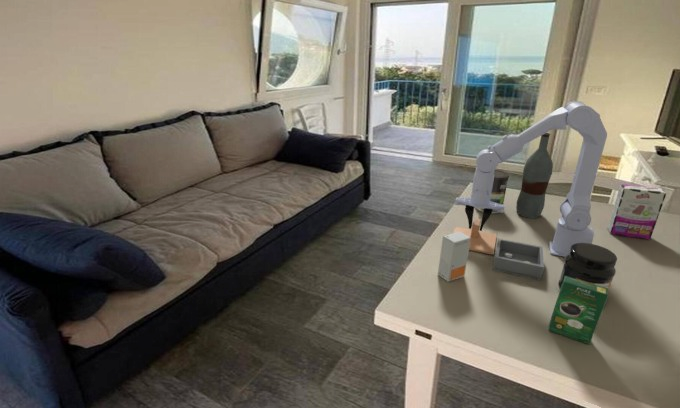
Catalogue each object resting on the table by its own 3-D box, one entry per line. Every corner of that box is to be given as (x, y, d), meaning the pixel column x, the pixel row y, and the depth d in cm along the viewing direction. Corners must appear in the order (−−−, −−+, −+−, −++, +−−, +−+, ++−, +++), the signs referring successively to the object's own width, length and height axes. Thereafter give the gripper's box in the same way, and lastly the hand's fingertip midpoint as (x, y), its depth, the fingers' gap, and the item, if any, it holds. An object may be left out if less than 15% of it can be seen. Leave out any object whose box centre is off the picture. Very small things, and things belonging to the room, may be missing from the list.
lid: (495, 238, 122) (499, 221, 120) (492, 257, 111) (496, 239, 109) (455, 230, 127) (457, 214, 125) (448, 247, 116) (450, 230, 114)
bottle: (511, 207, 144) (527, 130, 132) (536, 209, 143) (554, 131, 131) (518, 218, 135) (536, 135, 124) (545, 219, 134) (565, 137, 122)
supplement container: (606, 312, 88) (621, 268, 83) (555, 297, 93) (567, 255, 88) (605, 289, 96) (618, 248, 91) (558, 276, 101) (569, 237, 96)
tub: (539, 258, 109) (542, 246, 108) (540, 280, 99) (544, 267, 98) (495, 249, 114) (498, 238, 113) (492, 269, 104) (495, 257, 102)
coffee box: (591, 337, 80) (609, 286, 75) (591, 346, 78) (609, 294, 73) (549, 323, 84) (563, 274, 79) (547, 331, 82) (562, 280, 77)
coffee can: (505, 207, 145) (512, 172, 139) (497, 215, 137) (504, 179, 131) (479, 200, 150) (484, 167, 145) (470, 208, 143) (475, 173, 137)
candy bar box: (645, 233, 124) (662, 187, 118) (650, 240, 120) (668, 193, 114) (606, 228, 128) (620, 183, 122) (609, 234, 124) (624, 188, 118)
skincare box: (448, 282, 98) (453, 242, 94) (437, 274, 102) (442, 235, 97) (465, 276, 101) (471, 237, 96) (454, 269, 104) (459, 230, 100)
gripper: (455, 189, 114) (450, 229, 120) (506, 197, 109) (498, 238, 114) (459, 182, 120) (454, 220, 125) (508, 189, 115) (500, 228, 120)
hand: (475, 228), depth 120 cm, fingers open, 3 cm apart
